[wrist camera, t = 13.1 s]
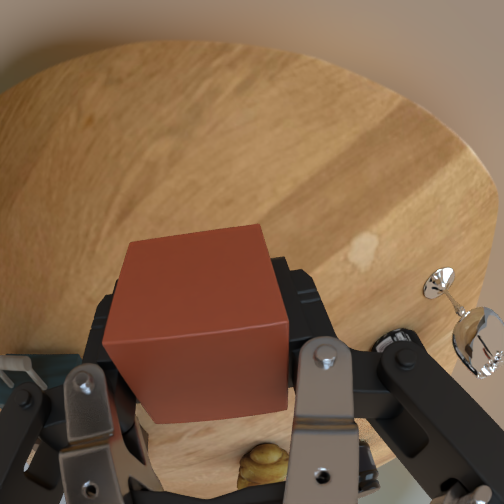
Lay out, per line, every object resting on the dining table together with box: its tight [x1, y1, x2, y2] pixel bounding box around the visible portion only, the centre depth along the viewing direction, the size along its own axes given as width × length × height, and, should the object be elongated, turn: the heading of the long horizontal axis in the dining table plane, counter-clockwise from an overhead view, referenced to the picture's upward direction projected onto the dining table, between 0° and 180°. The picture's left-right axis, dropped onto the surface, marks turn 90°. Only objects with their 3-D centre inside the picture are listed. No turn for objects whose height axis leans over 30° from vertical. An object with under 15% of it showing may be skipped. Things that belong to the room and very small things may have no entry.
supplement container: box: [358, 441, 380, 498], centre depth 54 cm, size 10×10×12 cm
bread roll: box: [237, 444, 289, 490], centre depth 49 cm, size 13×10×8 cm
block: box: [102, 224, 289, 424], centre depth 9 cm, size 4×4×4 cm
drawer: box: [0, 354, 82, 439], centre depth 29 cm, size 18×11×7 cm, turn 4°
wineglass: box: [423, 267, 504, 379], centre depth 27 cm, size 6×6×12 cm
